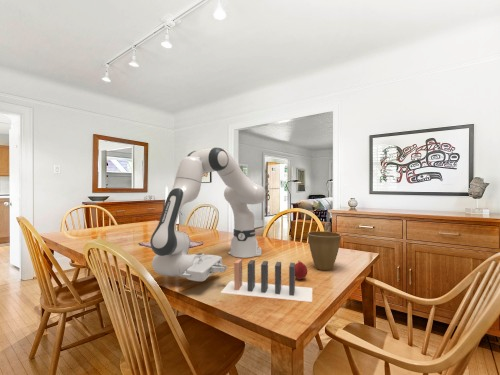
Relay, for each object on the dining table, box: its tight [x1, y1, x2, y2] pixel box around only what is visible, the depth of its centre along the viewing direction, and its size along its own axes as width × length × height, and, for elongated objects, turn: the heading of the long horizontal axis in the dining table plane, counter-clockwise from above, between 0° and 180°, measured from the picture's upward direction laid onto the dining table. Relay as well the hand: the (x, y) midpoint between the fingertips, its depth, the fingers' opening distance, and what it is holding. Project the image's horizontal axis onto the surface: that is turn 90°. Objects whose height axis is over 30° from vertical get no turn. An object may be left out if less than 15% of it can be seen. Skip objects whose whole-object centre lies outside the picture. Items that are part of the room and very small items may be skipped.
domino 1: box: [247, 259, 256, 292], centre depth 98 cm, size 5×2×10 cm, turn 166°
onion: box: [295, 260, 308, 281], centre depth 108 cm, size 6×6×8 cm
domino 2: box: [260, 260, 269, 293], centre depth 97 cm, size 5×2×10 cm, turn 166°
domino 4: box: [288, 262, 296, 296], centre depth 95 cm, size 5×2×10 cm, turn 166°
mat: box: [220, 280, 313, 303], centre depth 97 cm, size 12×32×1 cm, turn 76°
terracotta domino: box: [233, 258, 243, 290], centre depth 100 cm, size 5×2×10 cm, turn 166°
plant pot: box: [307, 230, 342, 271], centre depth 123 cm, size 15×15×16 cm
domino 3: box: [274, 261, 282, 294], centre depth 96 cm, size 5×2×10 cm, turn 166°
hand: (225, 268), depth 101 cm, fingers closed
